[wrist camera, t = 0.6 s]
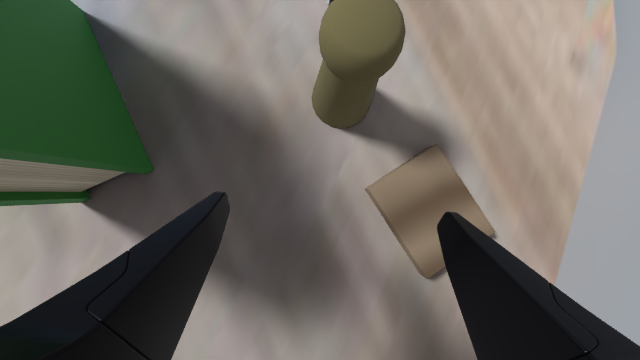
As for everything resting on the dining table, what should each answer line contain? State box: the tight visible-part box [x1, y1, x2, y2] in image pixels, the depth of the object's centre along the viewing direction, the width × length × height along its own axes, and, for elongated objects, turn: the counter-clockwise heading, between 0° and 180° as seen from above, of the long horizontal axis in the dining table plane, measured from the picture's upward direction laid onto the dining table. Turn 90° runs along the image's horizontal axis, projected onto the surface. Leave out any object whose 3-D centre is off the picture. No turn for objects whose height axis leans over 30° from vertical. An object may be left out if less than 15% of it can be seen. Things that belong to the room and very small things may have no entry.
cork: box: [312, 0, 405, 128], centre depth 18 cm, size 6×6×11 cm
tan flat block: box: [365, 144, 495, 279], centre depth 22 cm, size 10×8×2 cm
